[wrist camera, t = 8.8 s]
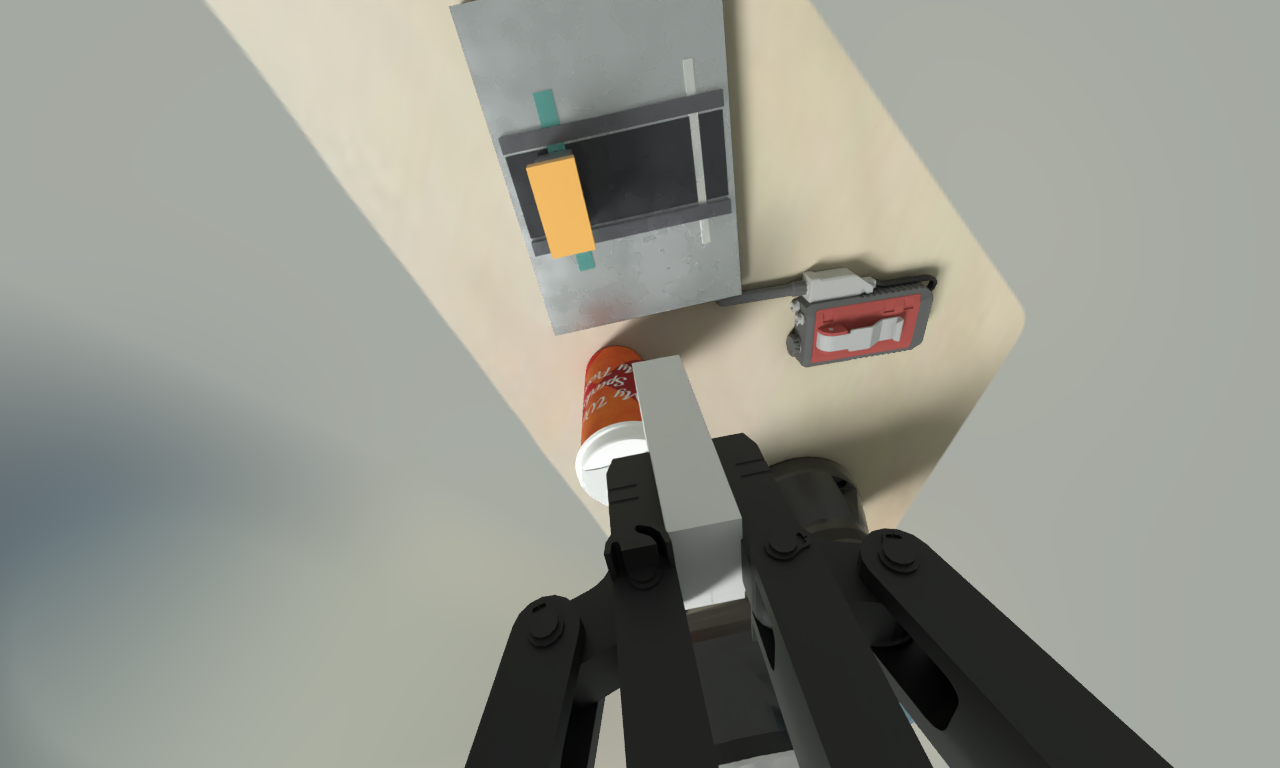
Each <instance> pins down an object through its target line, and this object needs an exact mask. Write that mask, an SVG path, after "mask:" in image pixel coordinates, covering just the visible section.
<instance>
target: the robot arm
mask: <svg viewBox="0 0 1280 768" xmlns="http://www.w3.org/2000/svg"><path fill="white" fill-rule="evenodd" d="M632 368H633V373H634V379H635V384H636V390H637V395H638V401H639V406H640V412H641V417H642V423H643V428H644V434H645V439H646V444H647V449H648V452H646V453H641V454H635V455H630V456H625V457H620V458H614V459H612V461H611V464H610V466H609V468H608V471H607V473H606V479H607V490H608V503H609V515H610V527H611V535H610V537H609V539H608V540H607V542H606V544H605V551H604V556H605V560H606V563H607V566H608V570H609V571H608V572H607V574H606V576H605V577H604V578H603V579H602V580H601V581H600V582H599V583H598V584H597V585H596V586H595V587H593V588H592V589H590V590H589V591H587V592H585V593H583V594H581V595H580V596H578V597H576V598H574V599H572V600H569V599H567V598H565V597H561V596H557V595H552V596H545V597H541V598H539V599H538V600H535V601H534V602H532V603H530V604H529V605H528V606H527V607H526V608H525V609H524V610H523V611H522V612H521V613H520V614H519V615H518V617H517V619H516V621H515V623H514V625H513V627H512V630H511V633H510V636H509V639H508V642H507V645H506V648H505V650H504V653H503V656H502V659H501V662H500V665H499V668H498V671H497V674H496V677H495V680H494V683H493V686H492V689H491V692H490V695H489V698H488V701H487V704H486V706H485V710H484V713H483V715H482V718H481V721H480V724H479V727H478V730H477V733H476V736H475V739H474V742H473V745H472V748H471V750H470V753H469V757H468V759H467V762H466V765H465V768H594V764H595V758H596V752H597V745H598V739H599V733H600V726H601V720H602V714H603V708H604V701H605V697H606V696H607V695H609V694H610V693H612V692H614V691H615V690H617V689H619V688H620V692H621V704H622V715H623V728H624V740H625V753H626V767H627V768H933V766H932V765H931V763H930V761H929V759H928V757H927V755H926V753H925V751H924V749H923V747H922V745H921V743H920V741H919V740H918V738H917V736H916V734H915V732H914V730H913V728H912V726H911V724H912V723H913V722H915V723H916V724H917V725H918V727H919V728H920V729H921V731H922V732H923V733H924V734H925V736H926V737H927V739H928V740H929V741H930V742H931V744H932V745H933V746H934V748H935V749H936V750H937V751H938V753H939V754H940V755H941V757H942V758H943V759H944V760H945V762H946V763H947V764H948V766H949V767H950V768H1174V767H1172V766H1171V765H1170V764H1169V763H1168V762H1167V761H1166V760H1165V759H1164V758H1162V757H1161V756H1160V755H1159V754H1158V753H1157V752H1156V751H1155V750H1154V749H1153V748H1151V747H1150V746H1149V745H1148V744H1147V743H1146V742H1145V741H1143V740H1142V739H1141V738H1140V737H1139V736H1138V735H1137V734H1136V733H1135V732H1134V731H1133V730H1131V729H1130V728H1129V727H1128V726H1127V725H1126V724H1125V723H1124V722H1123V721H1121V720H1120V719H1119V718H1118V717H1117V716H1116V715H1115V714H1114V713H1113V712H1112V711H1110V710H1109V709H1108V708H1107V707H1106V706H1105V705H1104V704H1103V703H1102V702H1101V701H1099V700H1098V699H1097V698H1096V697H1095V696H1094V695H1093V694H1092V693H1091V692H1089V691H1088V690H1087V689H1086V688H1085V687H1084V686H1083V685H1082V684H1081V683H1079V682H1078V681H1077V680H1076V679H1075V678H1074V677H1073V676H1072V675H1071V674H1069V673H1068V672H1067V671H1066V670H1065V669H1064V668H1063V667H1062V666H1061V665H1060V664H1058V663H1057V662H1056V661H1055V660H1054V659H1053V658H1052V657H1051V656H1050V655H1048V654H1047V653H1046V652H1045V651H1044V650H1043V649H1042V648H1041V647H1040V646H1039V645H1037V644H1036V643H1035V642H1034V641H1033V640H1032V639H1031V638H1030V637H1029V636H1028V635H1026V634H1025V633H1024V632H1023V631H1022V630H1021V629H1020V628H1019V627H1018V626H1016V625H1015V624H1014V623H1013V622H1012V621H1011V620H1010V619H1009V618H1008V617H1006V616H1005V615H1004V614H1003V613H1002V612H1001V611H1000V610H999V609H998V608H996V607H995V606H994V605H993V604H992V603H991V602H990V601H989V600H988V599H987V598H985V597H984V596H983V595H982V594H981V593H980V592H979V591H978V590H976V589H975V588H974V587H973V586H972V585H971V584H970V583H969V582H968V581H967V580H966V579H964V578H963V577H962V576H961V575H960V574H959V573H958V572H957V571H956V570H954V569H953V568H952V567H951V566H950V565H949V564H948V563H947V562H946V561H944V560H943V559H942V558H941V557H940V556H939V555H938V554H937V553H936V552H935V551H933V550H932V549H931V548H930V547H929V546H928V545H927V544H925V543H924V542H923V541H921V540H920V539H918V538H917V537H915V536H914V535H912V534H909V533H906V532H903V531H901V530H897V529H885V528H884V529H880V530H875V531H872V532H871V533H869V531H868V527H867V522H866V518H865V514H864V510H863V505H862V501H861V497H860V493H859V490H858V488H857V486H856V485H855V483H854V482H853V480H852V479H851V477H850V476H849V474H848V473H847V472H846V470H845V469H844V468H843V467H841V466H840V465H838V464H837V463H835V462H832V461H829V460H826V459H821V458H799V459H793V460H789V461H785V462H782V463H779V464H777V465H774V466H772V467H770V468H769V467H768V465H767V463H766V461H764V457H763V455H762V453H761V451H760V449H759V447H758V445H757V444H756V443H755V442H754V441H752V440H751V439H750V438H749V437H747V436H746V435H745V434H744V433H739V434H734V435H728V436H723V437H718V438H713V439H711V436H710V434H709V431H708V428H707V426H706V423H705V421H704V418H703V415H702V413H701V410H700V408H699V405H698V402H697V400H696V397H695V395H694V392H693V389H692V387H691V384H690V382H689V379H688V376H687V374H686V371H685V369H684V366H683V363H682V361H681V358H680V356H679V355H673V356H668V357H663V358H657V359H652V360H647V361H641V362H636V363H632ZM745 590H746V591H745Z"/></svg>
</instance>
